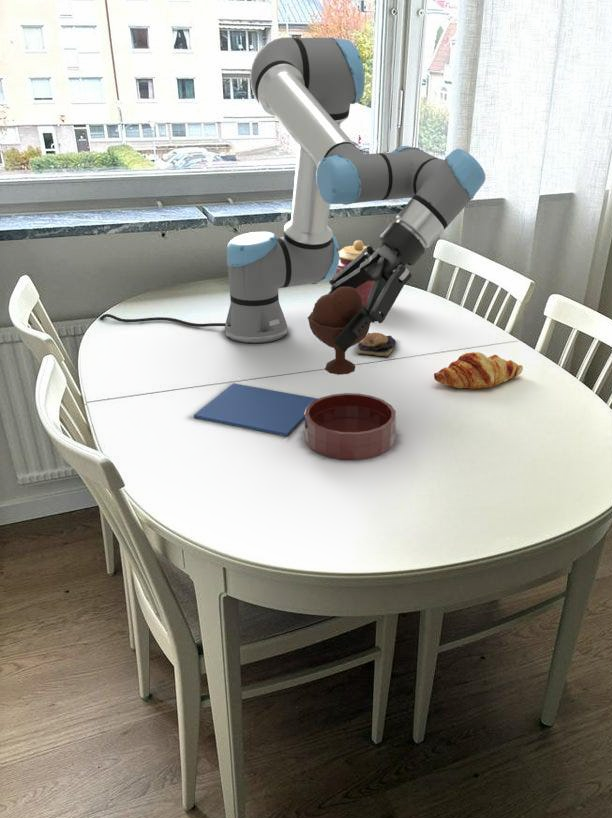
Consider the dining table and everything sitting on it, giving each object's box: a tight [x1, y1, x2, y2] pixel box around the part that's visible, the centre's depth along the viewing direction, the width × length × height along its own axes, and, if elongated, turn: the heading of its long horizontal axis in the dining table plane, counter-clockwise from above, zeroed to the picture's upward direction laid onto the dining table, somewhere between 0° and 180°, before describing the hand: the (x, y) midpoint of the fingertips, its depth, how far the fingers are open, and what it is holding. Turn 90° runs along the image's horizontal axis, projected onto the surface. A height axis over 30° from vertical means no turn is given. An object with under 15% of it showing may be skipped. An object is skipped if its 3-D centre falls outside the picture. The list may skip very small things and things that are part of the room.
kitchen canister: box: [333, 239, 375, 306], centre depth 195 cm, size 13×13×18 cm
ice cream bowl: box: [307, 287, 371, 376], centre depth 126 cm, size 11×11×15 cm
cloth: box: [193, 383, 318, 437], centre depth 145 cm, size 20×16×1 cm
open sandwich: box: [357, 332, 397, 358], centre depth 173 cm, size 11×8×4 cm
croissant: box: [433, 351, 524, 390], centre depth 157 cm, size 21×10×8 cm, turn 110°
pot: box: [304, 392, 397, 461], centre depth 134 cm, size 17×17×5 cm
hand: (325, 334), depth 125 cm, fingers closed on ice cream bowl, 11 cm apart
